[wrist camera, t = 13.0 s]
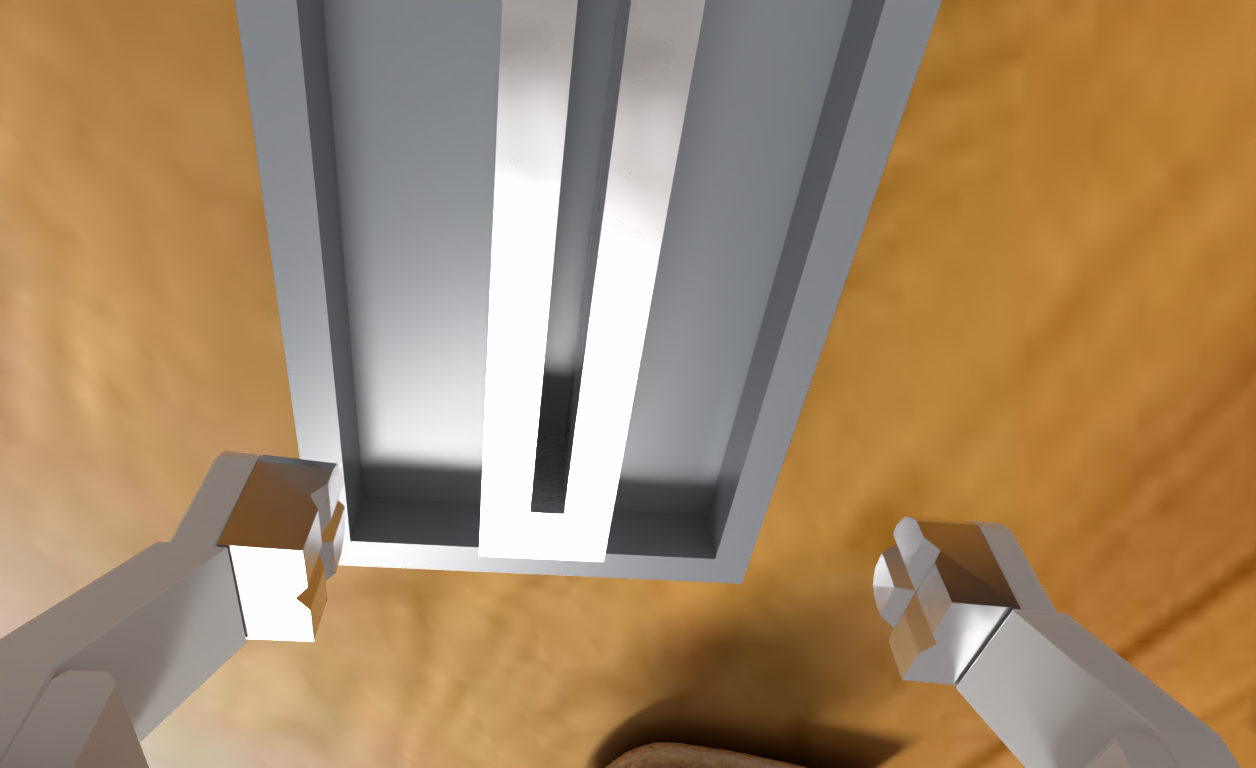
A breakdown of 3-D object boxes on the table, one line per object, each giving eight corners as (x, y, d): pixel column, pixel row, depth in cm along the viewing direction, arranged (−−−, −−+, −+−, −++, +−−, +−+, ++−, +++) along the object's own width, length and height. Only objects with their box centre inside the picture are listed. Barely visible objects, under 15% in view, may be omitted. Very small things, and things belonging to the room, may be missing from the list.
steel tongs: (725, -255, 16) (759, -262, 13) (603, 482, 27) (606, 562, 25) (520, -294, 15) (508, -310, 12) (485, 475, 27) (475, 556, 24)
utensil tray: (1004, -381, 16) (1082, -410, 13) (728, 520, 30) (741, 583, 28) (221, -549, 14) (147, -619, 11) (336, 498, 29) (314, 564, 26)
